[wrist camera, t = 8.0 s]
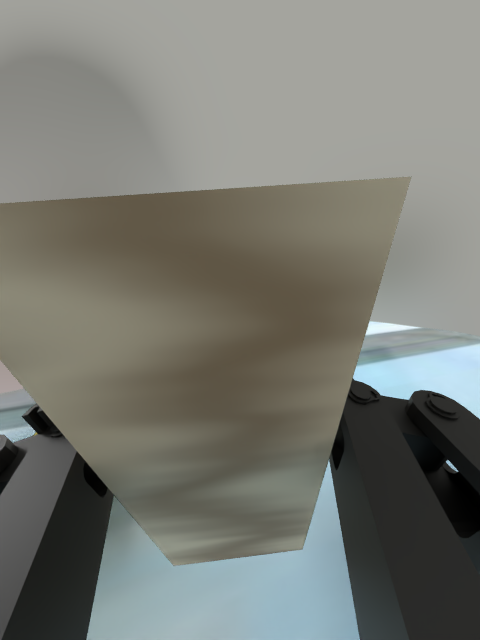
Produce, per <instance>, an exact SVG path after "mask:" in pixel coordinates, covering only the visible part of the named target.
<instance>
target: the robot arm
mask: <svg viewBox="0 0 480 640" xmlns="http://www.w3.org/2000/svg"><path fill="white" fill-rule="evenodd" d="M22 417H23V418H24V419H25V420H26V422H27V423H28V424H29V425H30V426H31V427H32V428H33V429H34V430H35V431H36V432H37V433H38V434H37V435H34V436H31V437H29V438H26V439H23V440H20V441H17V442H14V443H12V442H11V441H10V440H9V439H8V438H7V437H6V436H5V435H0V640H86V638H87V633H88V627H89V622H90V617H91V611H92V606H93V601H94V596H95V590H96V585H97V580H98V575H99V569H100V564H101V559H102V554H103V548H104V543H105V538H106V532H107V527H108V522H109V517H110V511H111V506H112V501H113V496H114V494H113V493H112V492H111V491H110V490H109V488H108V487H107V486H106V485H105V484H104V482H103V481H102V480H101V479H100V478H99V477H98V475H97V474H96V473H95V472H94V471H93V469H92V468H91V467H90V466H89V465H88V463H87V462H86V461H85V460H84V459H83V458H82V456H81V455H80V454H79V453H78V452H77V450H76V449H75V448H74V447H73V446H72V444H71V443H70V442H69V441H68V440H67V439H66V437H65V436H64V435H63V434H62V433H61V431H60V430H59V429H58V428H57V427H56V425H55V424H54V423H53V422H52V421H51V420H50V418H49V417H48V416H47V415H46V414H45V412H44V411H43V410H42V409H41V408H40V406H39V405H38V404H35V405H34V406H33V407H31V408H30V409H29V410H28V411H27V412H26V413H25V414H24V415H23V416H22ZM447 460H449V461H450V462H451V463H452V464H453V465H454V467H455V468H456V469H457V470H458V471H459V472H456V471H455V470H453V469H452V468H451V467H450V466H449V465H448V464H447V463H446V461H447ZM329 461H330V467H331V473H332V478H333V484H334V490H335V496H336V502H337V508H338V513H339V519H340V525H341V531H342V537H343V543H344V548H345V554H346V560H347V566H348V572H349V578H350V583H351V589H352V595H353V601H354V607H355V613H356V618H357V624H358V630H359V636H360V640H480V419H479V418H478V417H476V416H475V415H474V414H472V413H471V412H470V411H469V410H467V409H466V408H465V407H463V406H462V405H460V404H459V403H457V402H456V401H454V400H453V399H450V398H448V397H446V396H444V395H442V394H439V393H435V392H432V391H425V390H420V391H415V392H414V393H413V394H412V396H411V397H410V399H409V400H405V399H398V398H392V397H386V396H381V395H380V394H379V393H378V392H377V391H376V390H375V389H373V388H372V387H371V386H369V385H367V384H364V383H362V382H359V381H355V380H354V379H353V378H352V382H351V385H350V389H349V392H348V395H347V399H346V402H345V406H344V409H343V413H342V416H341V419H340V423H339V426H338V430H337V433H336V436H335V440H334V443H333V447H332V450H331V454H330V457H329Z"/></svg>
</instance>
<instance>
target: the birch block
mask: <svg viewBox="0 0 480 640" xmlns="http://www.w3.org/2000/svg"><path fill="white" fill-rule="evenodd" d="M410 180H411V177H399V178H384V179H369V180H354V181H338V182H323V183H308V184H292V185H277V186H262V187H246V188H231V189H217V190H201V191H185V192H171V193H155V194H139V195H124V196H108V197H93V198H78V199H63V200H49V201H48V200H47V201H33V202H17V203H1V204H0V360H1V361H2V362H3V364H4V365H5V366H6V367H7V368H8V370H9V371H10V372H11V373H12V374H13V376H14V377H15V378H16V379H17V380H18V382H19V383H20V384H21V385H22V386H23V387H24V389H25V390H26V391H27V392H28V393H29V395H30V396H31V397H32V398H33V399H34V401H35V402H36V403H37V404H38V405H39V406H40V408H41V409H42V410H43V411H44V412H45V414H46V415H47V416H48V417H49V418H50V420H51V421H52V422H53V423H54V424H55V425H56V427H57V428H58V429H59V430H60V431H61V433H62V434H63V435H64V436H65V437H66V439H67V440H68V441H69V442H70V443H71V444H72V446H73V447H74V448H75V449H76V450H77V452H78V453H79V454H80V455H81V456H82V458H83V459H84V460H85V461H86V462H87V463H88V465H89V466H90V467H91V468H92V469H93V471H94V472H95V473H96V474H97V475H98V477H99V478H100V479H101V480H102V481H103V482H104V484H105V485H106V486H107V487H108V488H109V490H110V491H111V492H112V493H113V494H114V496H115V497H116V498H117V499H118V500H119V501H120V503H121V504H122V505H123V506H124V507H125V509H126V510H127V511H128V512H129V513H130V515H131V516H132V517H133V518H134V519H135V520H136V522H137V523H138V524H139V525H140V526H141V528H142V529H143V530H144V531H145V532H146V534H147V535H148V536H149V537H150V538H151V539H152V541H153V542H154V543H155V544H156V545H157V547H158V548H159V549H160V550H161V551H162V553H163V554H164V555H165V556H166V557H167V558H168V560H169V561H170V562H171V563H172V564H173V566H178V565H185V564H193V563H201V562H209V561H217V560H224V559H232V558H240V557H248V556H256V555H263V554H271V553H279V552H287V551H295V550H302V549H303V546H304V543H305V539H306V536H307V532H308V529H309V525H310V522H311V519H312V515H313V512H314V508H315V505H316V501H317V498H318V495H319V491H320V488H321V484H322V481H323V478H324V474H325V471H326V467H327V464H328V460H329V457H330V454H331V450H332V447H333V443H334V440H335V436H336V433H337V430H338V426H339V423H340V419H341V416H342V413H343V409H344V406H345V402H346V399H347V395H348V392H349V389H350V385H351V382H352V378H353V375H354V372H355V368H356V365H357V361H358V358H359V354H360V351H361V348H362V344H363V341H364V337H365V334H366V330H367V327H368V324H369V320H370V317H371V313H372V310H373V306H374V303H375V300H376V296H377V293H378V289H379V286H380V283H381V279H382V276H383V272H384V269H385V265H386V262H387V259H388V255H389V252H390V248H391V245H392V241H393V238H394V235H395V231H396V228H397V224H398V221H399V218H400V214H401V211H402V207H403V204H404V200H405V197H406V194H407V190H408V187H409V183H410Z"/></svg>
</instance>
